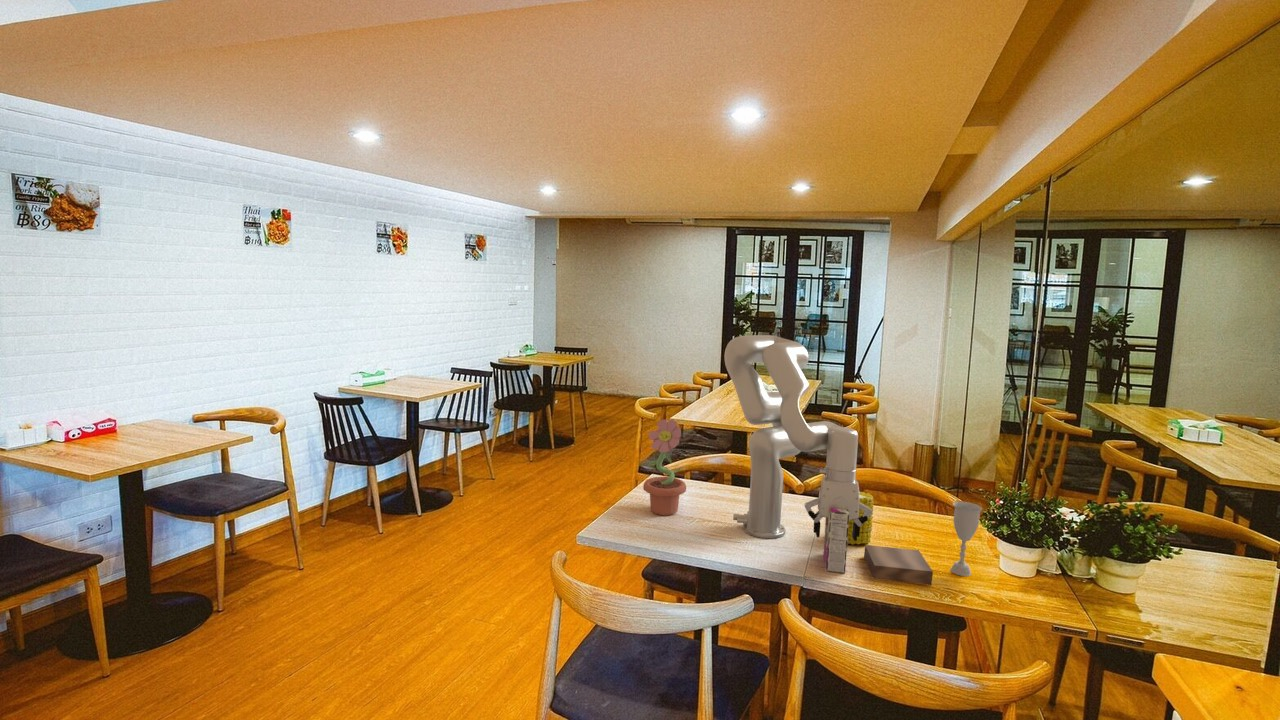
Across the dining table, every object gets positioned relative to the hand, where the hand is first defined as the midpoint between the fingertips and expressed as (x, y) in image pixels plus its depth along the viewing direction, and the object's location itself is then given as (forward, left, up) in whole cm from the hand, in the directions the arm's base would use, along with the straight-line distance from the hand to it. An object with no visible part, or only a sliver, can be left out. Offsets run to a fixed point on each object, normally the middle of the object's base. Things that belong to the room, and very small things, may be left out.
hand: (835, 537), depth 166 cm
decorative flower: (-50, +27, -8) cm, 57 cm away
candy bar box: (0, 0, -8) cm, 8 cm away
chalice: (+33, +4, -8) cm, 34 cm away
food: (+8, +19, -8) cm, 22 cm away
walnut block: (+16, 0, -8) cm, 18 cm away
